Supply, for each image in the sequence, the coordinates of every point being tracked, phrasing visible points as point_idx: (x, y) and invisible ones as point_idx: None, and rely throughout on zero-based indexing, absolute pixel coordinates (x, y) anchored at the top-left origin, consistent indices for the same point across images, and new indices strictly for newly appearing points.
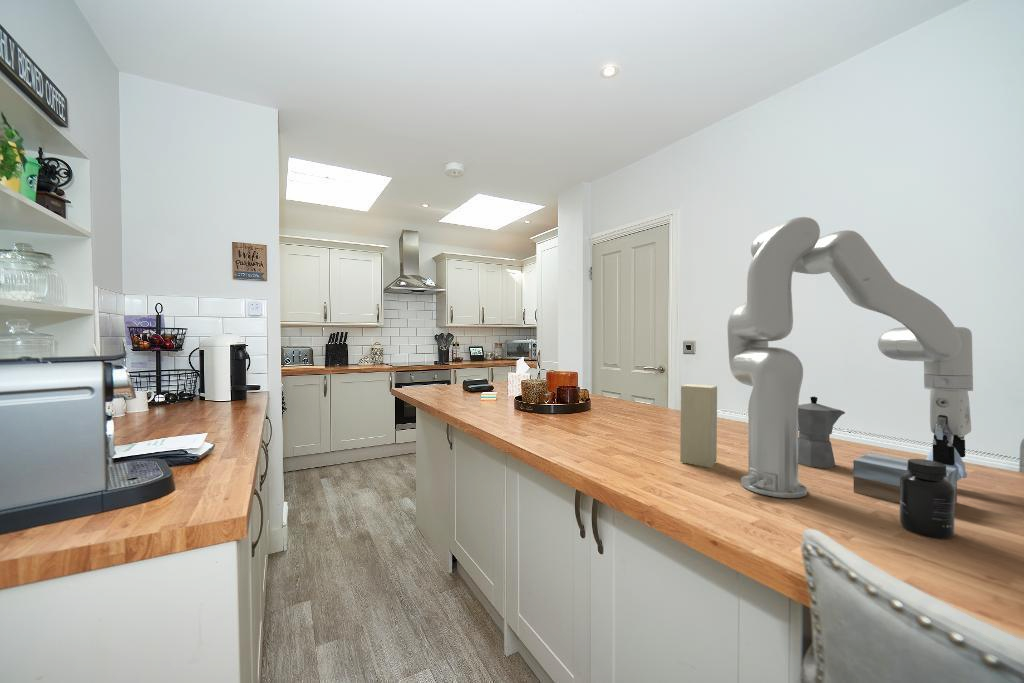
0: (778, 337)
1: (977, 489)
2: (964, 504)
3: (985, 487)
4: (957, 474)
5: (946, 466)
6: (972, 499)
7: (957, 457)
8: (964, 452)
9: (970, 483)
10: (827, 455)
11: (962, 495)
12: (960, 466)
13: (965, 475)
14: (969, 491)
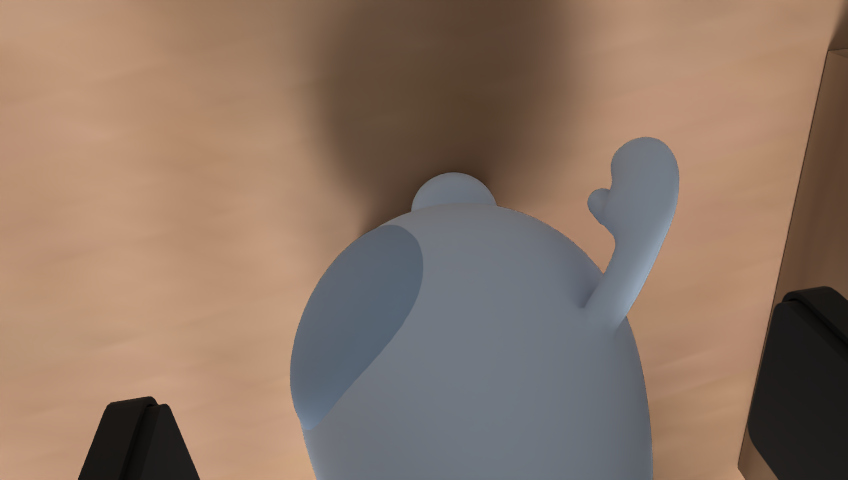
0: None
1: (179, 104)
2: (834, 2)
3: (6, 90)
4: (553, 230)
5: (634, 341)
6: (607, 17)
7: (562, 378)
8: (124, 453)
9: (5, 204)
10: None
11: (539, 102)
12: (652, 254)
13: (669, 151)
14: (334, 116)
